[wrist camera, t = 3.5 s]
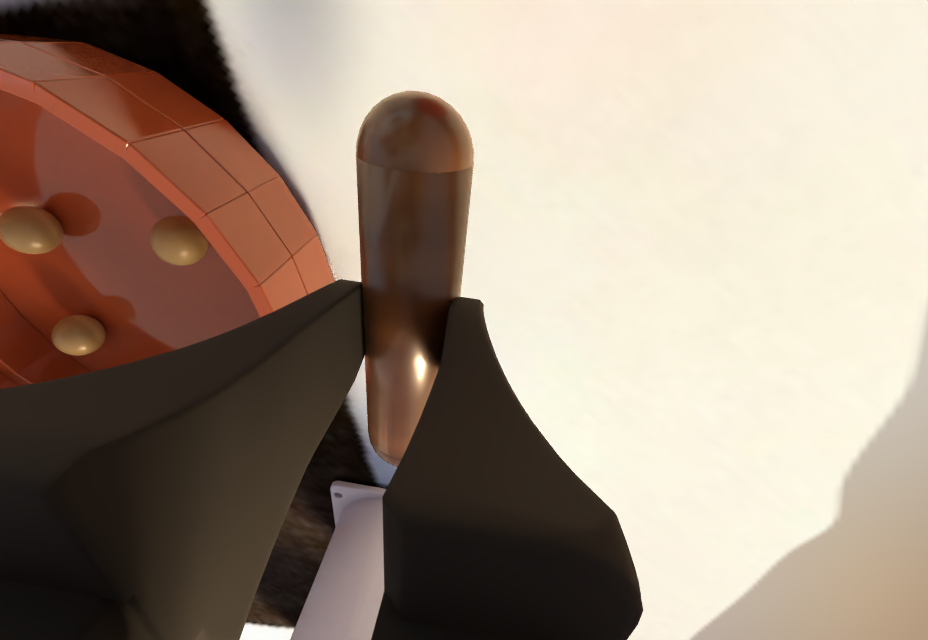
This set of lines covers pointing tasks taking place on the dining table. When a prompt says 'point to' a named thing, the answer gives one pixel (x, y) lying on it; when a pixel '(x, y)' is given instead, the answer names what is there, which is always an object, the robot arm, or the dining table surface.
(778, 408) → the dining table surface
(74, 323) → the bead
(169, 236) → the bead
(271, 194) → the bowl
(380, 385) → the stick
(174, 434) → the robot arm
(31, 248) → the bead
